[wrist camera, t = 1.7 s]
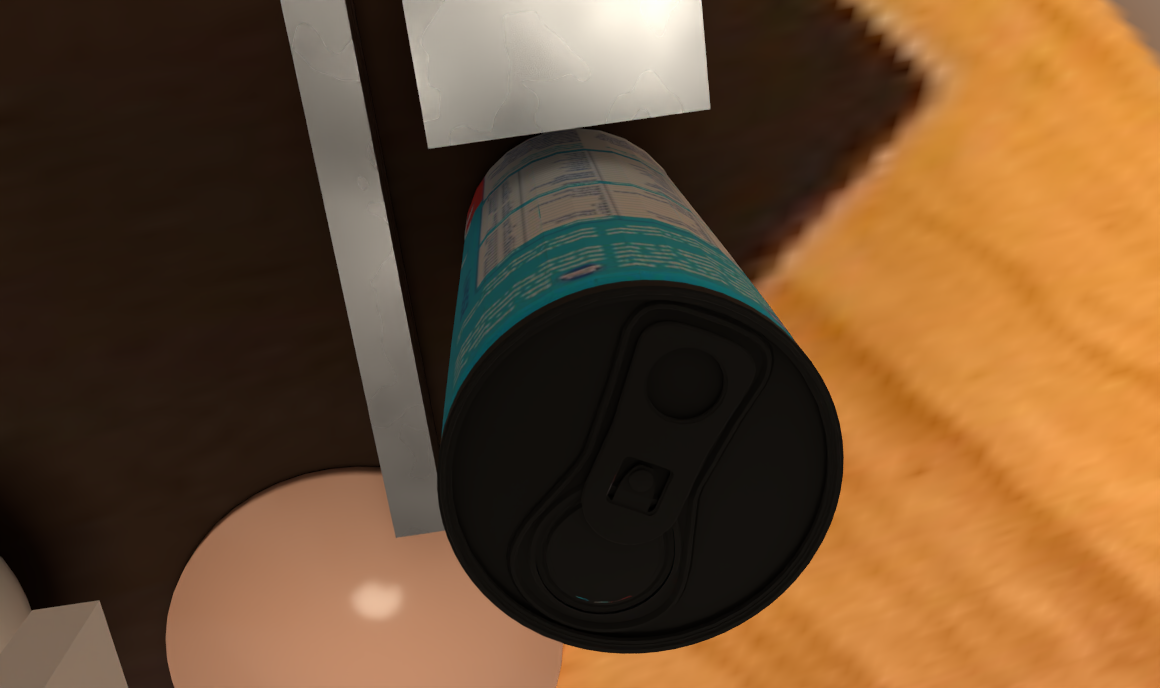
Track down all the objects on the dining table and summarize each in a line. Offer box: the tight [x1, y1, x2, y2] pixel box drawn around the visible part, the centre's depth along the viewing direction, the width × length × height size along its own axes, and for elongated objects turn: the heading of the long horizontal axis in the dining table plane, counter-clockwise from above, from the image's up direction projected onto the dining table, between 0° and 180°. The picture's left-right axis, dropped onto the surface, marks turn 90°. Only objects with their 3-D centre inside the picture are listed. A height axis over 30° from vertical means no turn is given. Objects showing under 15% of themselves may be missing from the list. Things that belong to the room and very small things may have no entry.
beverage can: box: [437, 128, 844, 653], centre depth 22 cm, size 6×6×15 cm
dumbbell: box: [280, 0, 710, 538], centre depth 27 cm, size 16×9×6 cm, turn 7°
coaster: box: [166, 467, 563, 688], centre depth 33 cm, size 12×12×1 cm
